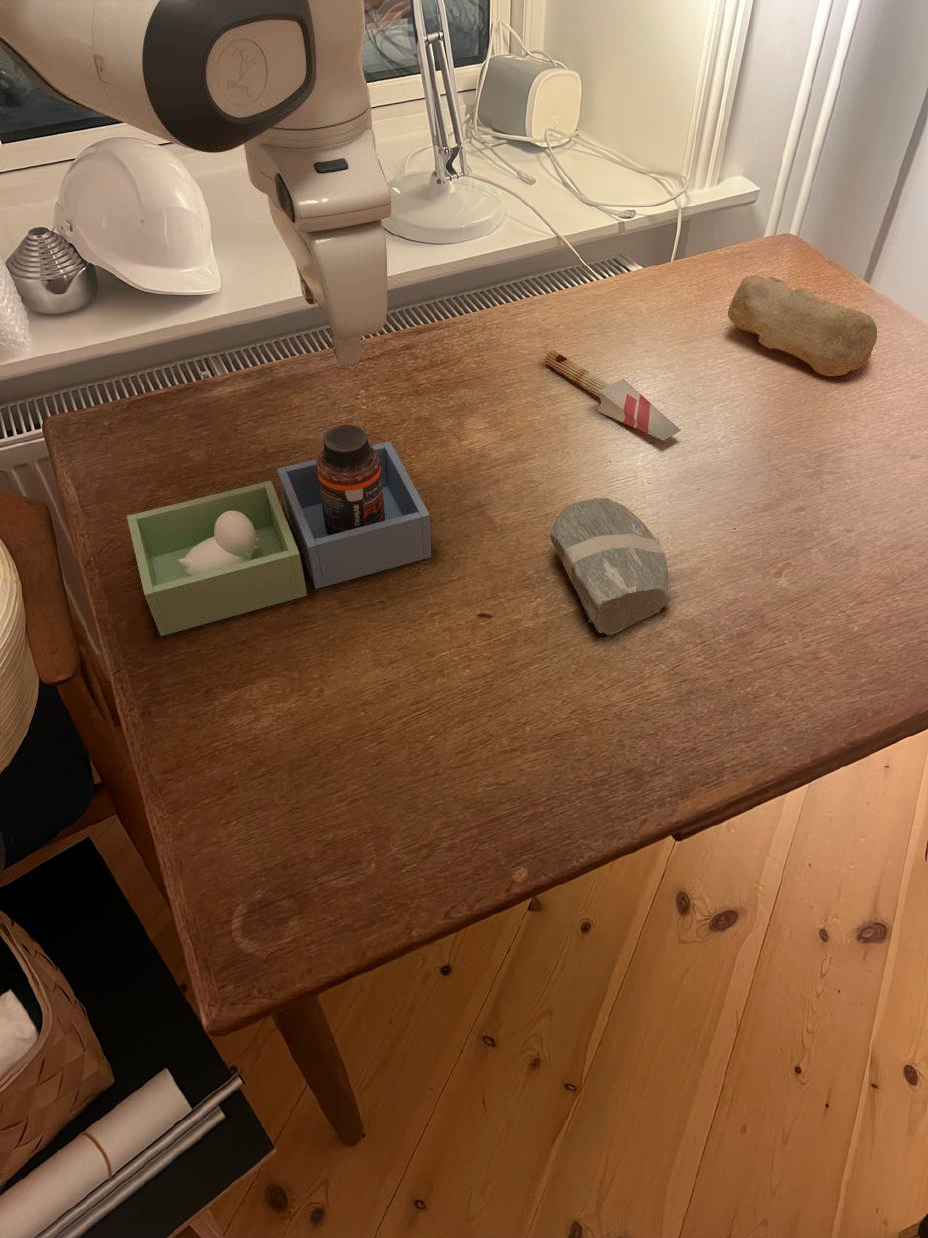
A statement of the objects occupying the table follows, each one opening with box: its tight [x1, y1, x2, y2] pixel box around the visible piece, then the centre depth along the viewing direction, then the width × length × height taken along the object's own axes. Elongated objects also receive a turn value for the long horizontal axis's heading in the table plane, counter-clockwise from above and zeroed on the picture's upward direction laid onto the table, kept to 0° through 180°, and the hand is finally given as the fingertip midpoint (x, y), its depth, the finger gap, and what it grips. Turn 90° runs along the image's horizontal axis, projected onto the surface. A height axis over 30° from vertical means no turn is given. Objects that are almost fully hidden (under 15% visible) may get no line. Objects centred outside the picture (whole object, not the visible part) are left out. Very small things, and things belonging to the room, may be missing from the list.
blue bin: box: [276, 440, 432, 590], centre depth 89 cm, size 12×12×6 cm
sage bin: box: [126, 480, 308, 637], centre depth 85 cm, size 14×11×6 cm
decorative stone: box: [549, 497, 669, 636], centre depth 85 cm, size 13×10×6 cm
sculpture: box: [727, 275, 878, 377], centre depth 109 cm, size 9×17×10 cm
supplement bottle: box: [316, 424, 385, 536], centre depth 86 cm, size 6×6×11 cm
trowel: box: [544, 349, 682, 441], centre depth 104 cm, size 4×3×20 cm
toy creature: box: [178, 511, 262, 577], centre depth 85 cm, size 5×8×6 cm, turn 123°
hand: (330, 328), depth 74 cm, fingers open, 8 cm apart
